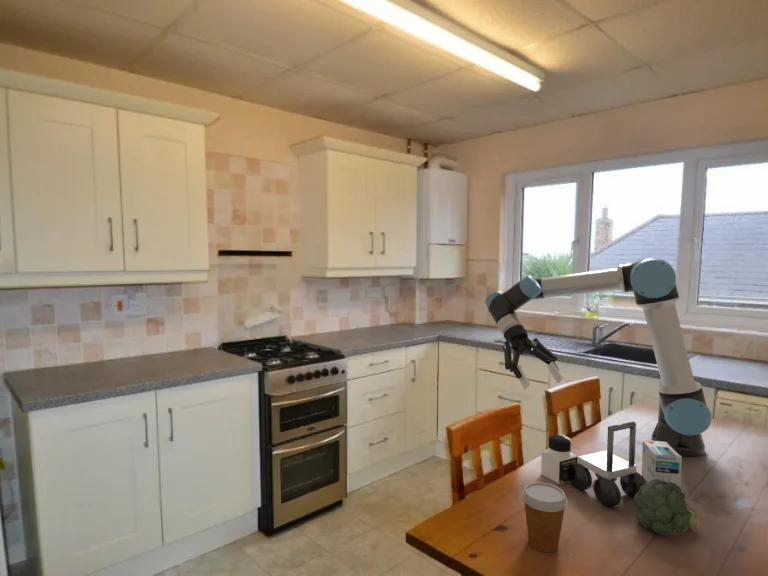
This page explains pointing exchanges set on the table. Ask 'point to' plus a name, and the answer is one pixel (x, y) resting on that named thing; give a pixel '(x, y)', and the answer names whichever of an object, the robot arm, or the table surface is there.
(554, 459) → the medicine bottle
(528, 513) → the disposable coffee cup
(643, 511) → the vegetable
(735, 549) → the table surface
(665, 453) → the light bulb box
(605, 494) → the trolley
